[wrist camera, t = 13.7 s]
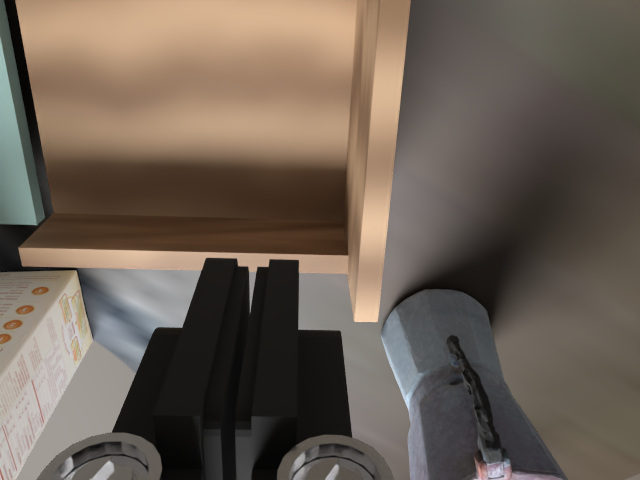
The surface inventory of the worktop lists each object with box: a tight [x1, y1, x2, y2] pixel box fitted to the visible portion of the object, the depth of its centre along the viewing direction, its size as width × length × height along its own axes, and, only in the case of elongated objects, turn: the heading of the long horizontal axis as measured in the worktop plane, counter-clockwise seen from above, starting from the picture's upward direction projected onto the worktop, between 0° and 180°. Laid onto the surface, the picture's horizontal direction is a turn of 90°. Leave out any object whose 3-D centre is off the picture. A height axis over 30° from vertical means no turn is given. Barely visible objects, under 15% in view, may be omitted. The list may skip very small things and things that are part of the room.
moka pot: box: [381, 289, 568, 480], centre depth 37 cm, size 10×15×20 cm, turn 17°
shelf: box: [15, 0, 411, 322], centre depth 30 cm, size 23×20×14 cm
